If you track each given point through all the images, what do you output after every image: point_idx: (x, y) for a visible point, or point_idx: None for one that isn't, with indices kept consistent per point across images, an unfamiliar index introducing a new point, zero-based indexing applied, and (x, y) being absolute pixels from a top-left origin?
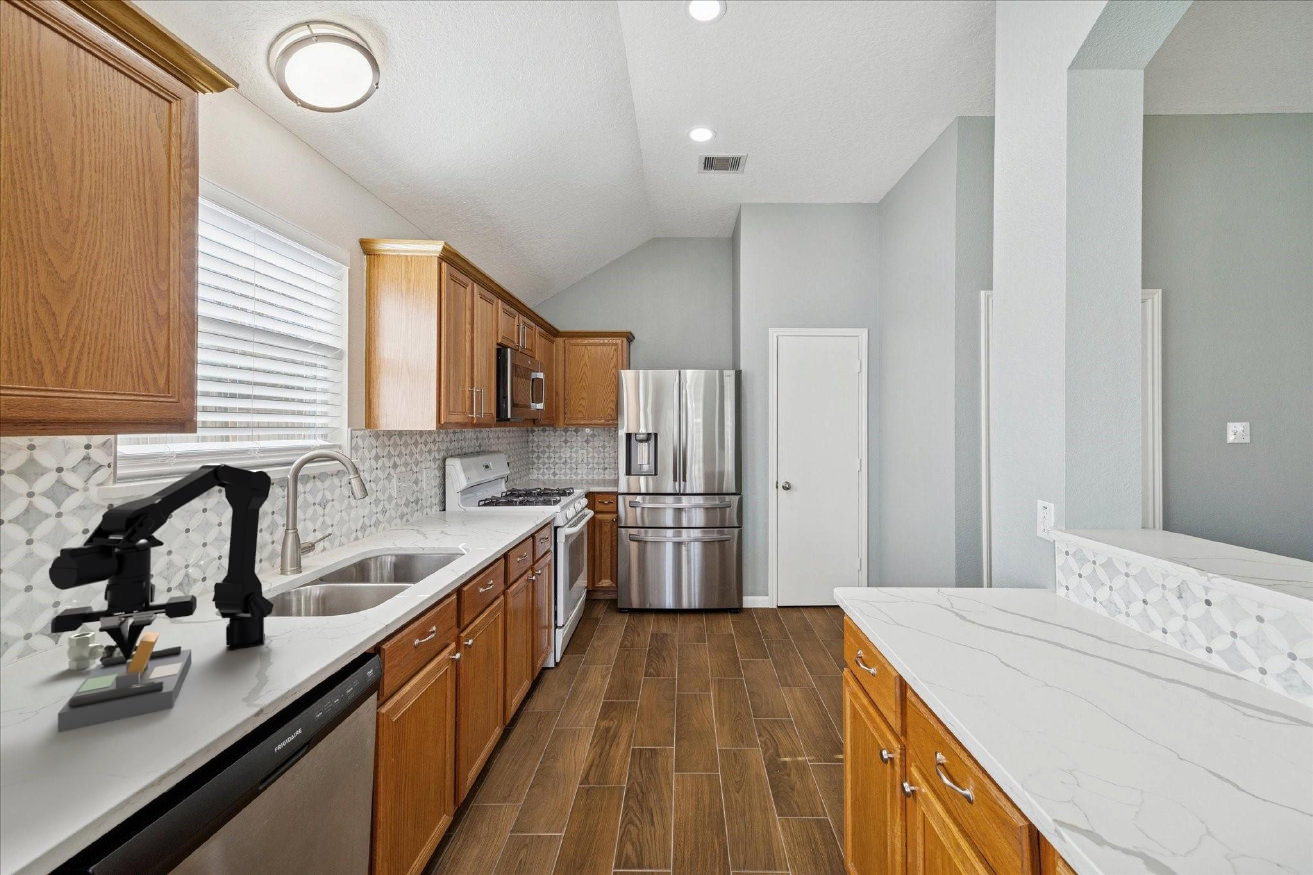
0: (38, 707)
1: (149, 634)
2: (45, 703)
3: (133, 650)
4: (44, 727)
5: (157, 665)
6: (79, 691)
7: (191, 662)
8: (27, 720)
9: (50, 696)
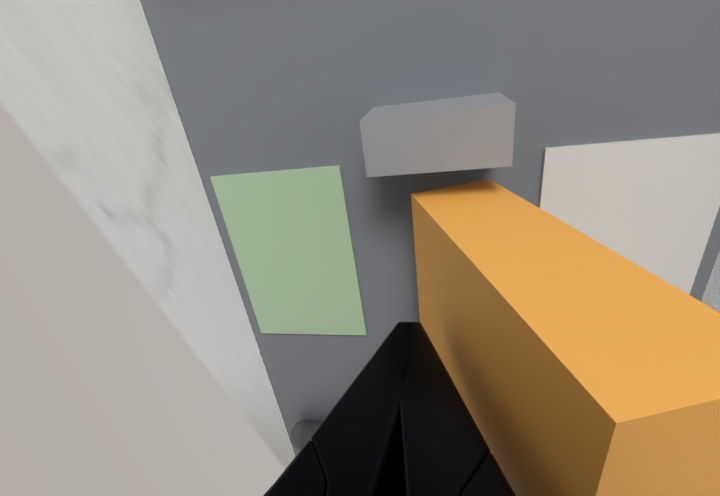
0: (130, 185)
1: (652, 486)
2: (126, 152)
3: (438, 357)
4: (261, 362)
5: (555, 98)
6: (264, 327)
7: None
8: (177, 288)
9: (84, 63)
